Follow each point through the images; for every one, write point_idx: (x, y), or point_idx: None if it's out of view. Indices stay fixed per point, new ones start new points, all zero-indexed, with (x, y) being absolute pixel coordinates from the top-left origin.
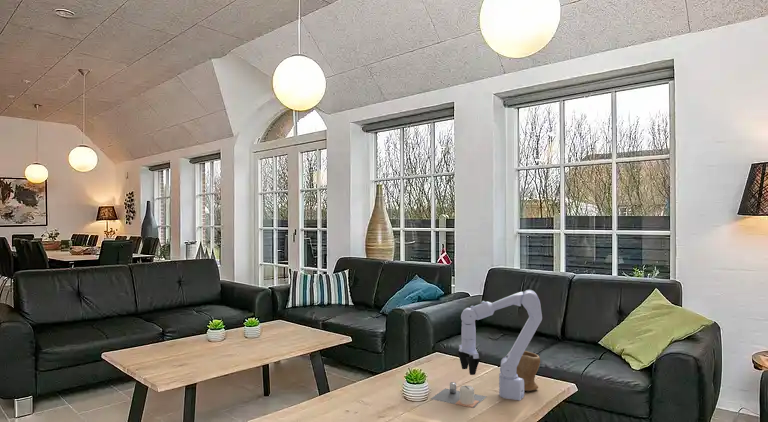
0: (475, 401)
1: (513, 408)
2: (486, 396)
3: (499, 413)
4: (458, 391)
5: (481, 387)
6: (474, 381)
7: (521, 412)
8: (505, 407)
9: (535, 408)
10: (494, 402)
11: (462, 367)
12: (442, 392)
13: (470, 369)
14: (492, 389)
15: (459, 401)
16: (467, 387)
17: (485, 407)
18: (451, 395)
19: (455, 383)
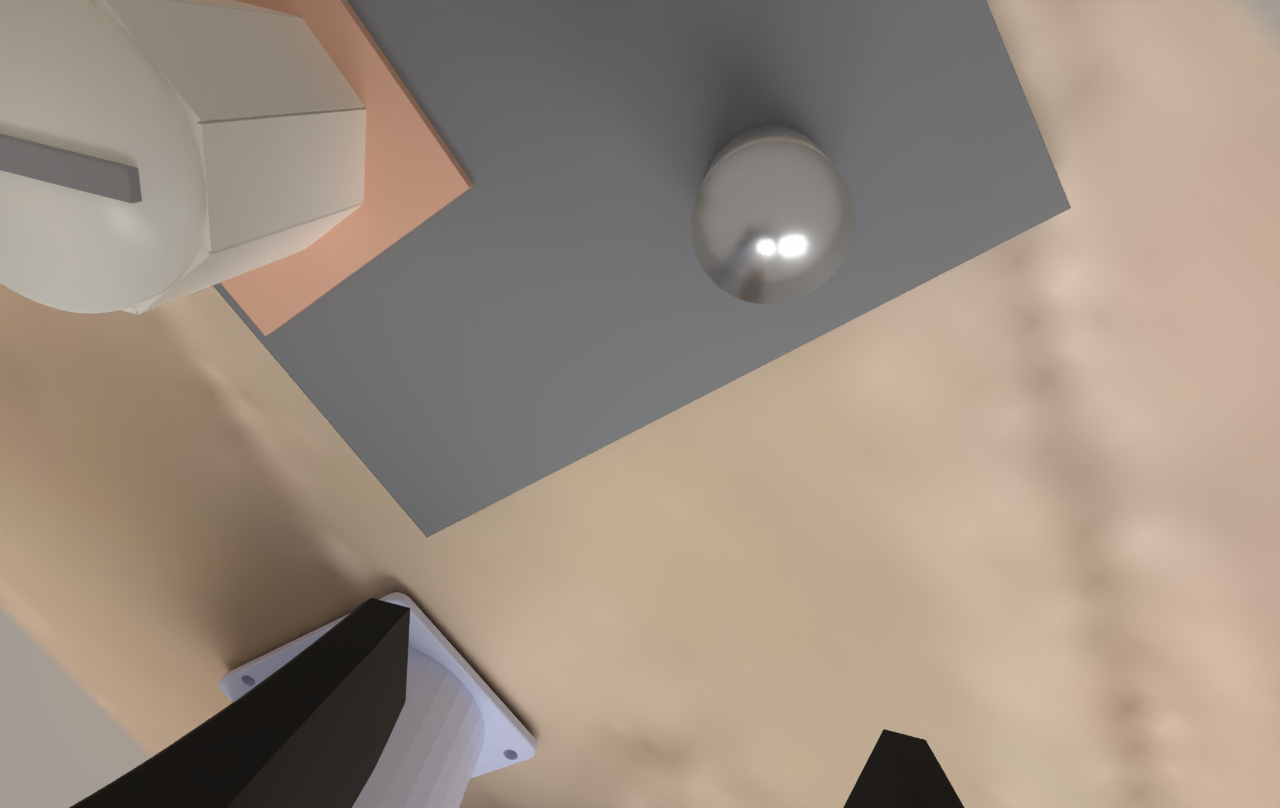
0: (258, 274)
1: (135, 566)
2: (428, 533)
3: (10, 355)
4: (780, 327)
5: (830, 714)
6: (1065, 785)
7: (28, 557)
8: (172, 522)
9: (112, 706)
10: (334, 523)
11: (895, 771)
12: (913, 3)
13: (232, 708)
14: (703, 754)
15: (314, 16)
16: (2, 158)
17: (207, 333)
18: (675, 85)
19: (720, 268)
